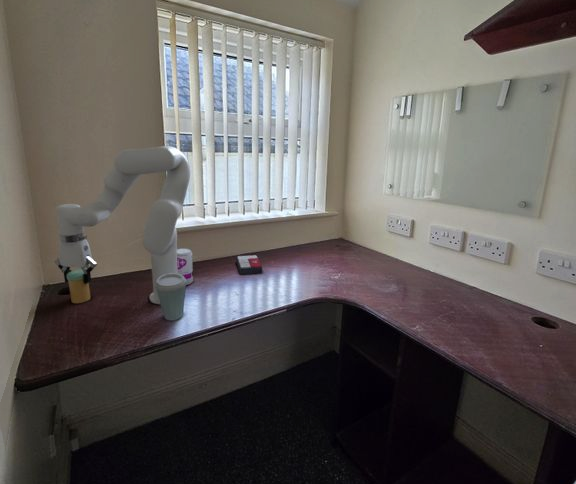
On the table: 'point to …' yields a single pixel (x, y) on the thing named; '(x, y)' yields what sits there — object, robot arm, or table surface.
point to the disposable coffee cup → (171, 294)
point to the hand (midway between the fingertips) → (78, 281)
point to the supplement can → (185, 264)
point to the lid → (75, 275)
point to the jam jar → (79, 291)
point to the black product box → (249, 264)
